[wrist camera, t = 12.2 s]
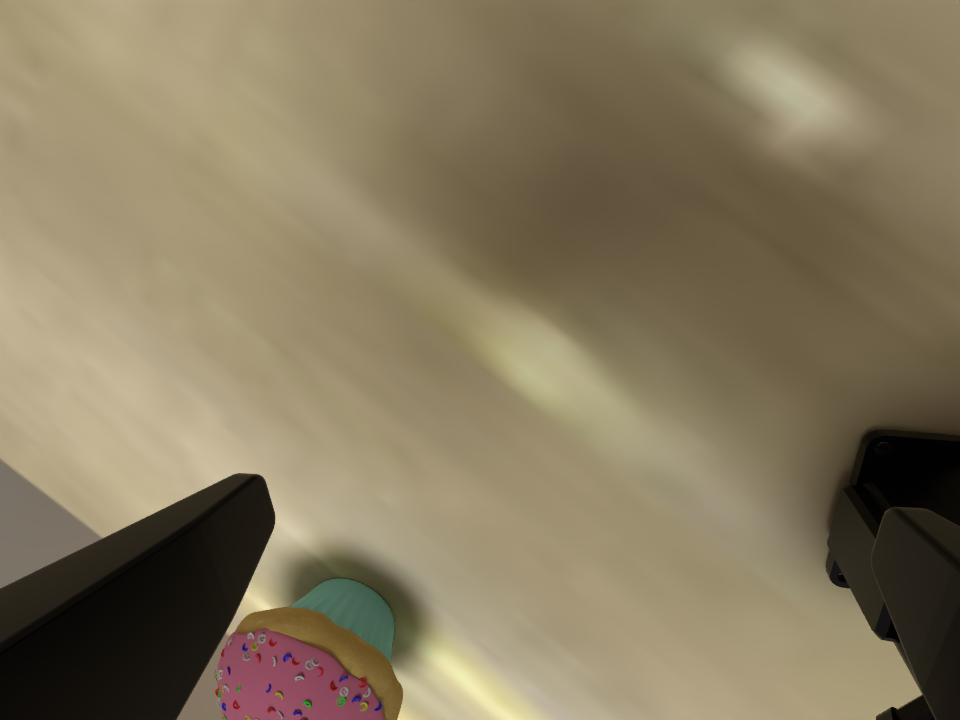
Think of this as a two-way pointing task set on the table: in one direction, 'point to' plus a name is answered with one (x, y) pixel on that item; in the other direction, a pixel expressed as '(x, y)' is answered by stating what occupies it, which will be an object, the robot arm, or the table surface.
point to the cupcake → (313, 659)
